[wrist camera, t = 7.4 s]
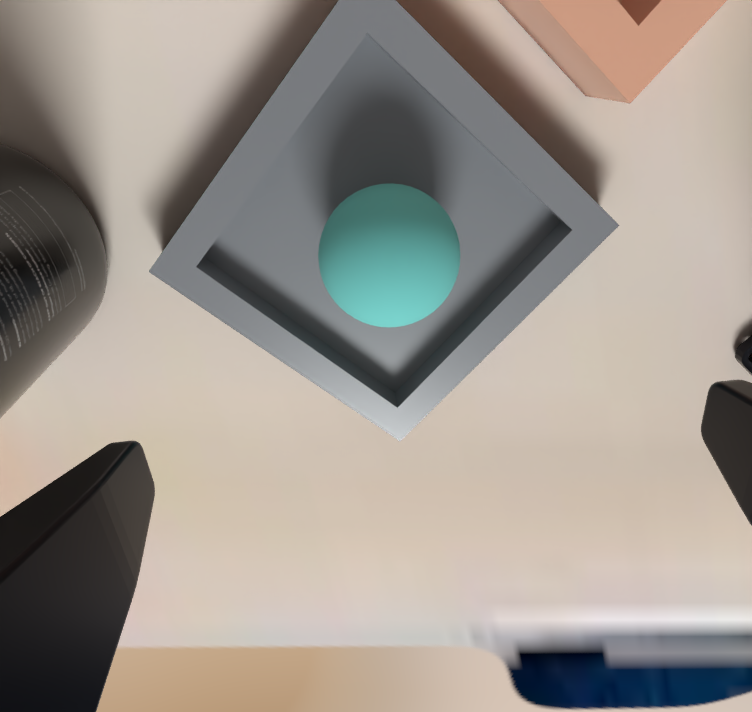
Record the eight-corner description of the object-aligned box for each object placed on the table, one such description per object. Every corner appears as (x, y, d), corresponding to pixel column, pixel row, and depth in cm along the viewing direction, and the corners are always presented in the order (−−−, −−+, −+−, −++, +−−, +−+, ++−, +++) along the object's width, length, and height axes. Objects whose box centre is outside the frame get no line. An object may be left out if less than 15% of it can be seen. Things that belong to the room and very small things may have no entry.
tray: (598, 212, 19) (619, 225, 18) (396, 416, 22) (400, 441, 21) (360, -26, 16) (362, -34, 14) (163, 255, 19) (148, 271, 17)
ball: (472, 228, 18) (507, 269, 15) (389, 319, 20) (403, 377, 16) (375, 142, 17) (387, 165, 13) (293, 246, 18) (285, 292, 15)
